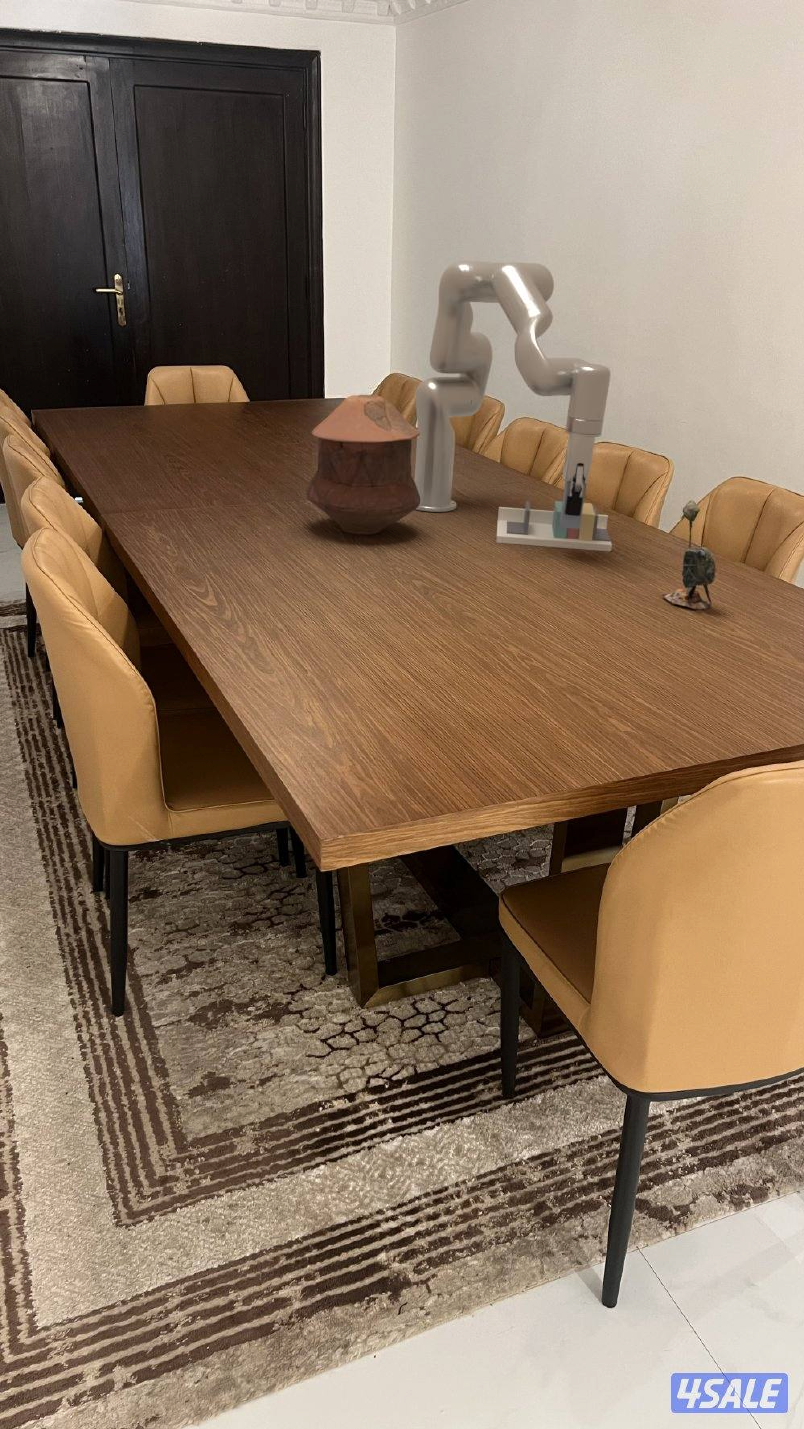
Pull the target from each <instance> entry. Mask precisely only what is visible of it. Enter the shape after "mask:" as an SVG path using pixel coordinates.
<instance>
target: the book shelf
mask: <svg viewBox="0 0 804 1429" xmlns="http://www.w3.org/2000/svg"><path fill="white" fill-rule="evenodd" d="M562 502H563V500H562V501H561V500H554V507H553V510H546V509H545V510H543V509H532V508H531V503H530V501H529V500H526V501H525V508H520V507H519V508H518V507H517V508H516V507H506V506H499V507H498V515H497V525H496V543H498V544H508V545H509V544H511V545H512V544H513V545H523V546H524V545H525V546H537V547H549V548H561V549H562V548H563V549H572V550H573V549H574V550H575V549H577V550H585V551H587V550H588V551H600V552H610V551H611V552H612V547H613V544H612V541H611V538H610V536H609V532H608V529H607V527H608V518H609V515H608V514H598V511H597V509H596V506H595V505H593V503H590V502H589V503H588V502H584V503H583V510H582V516H581V523H580V529H573V528H563V527H561V524H560V516H561V509H562Z"/></svg>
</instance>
